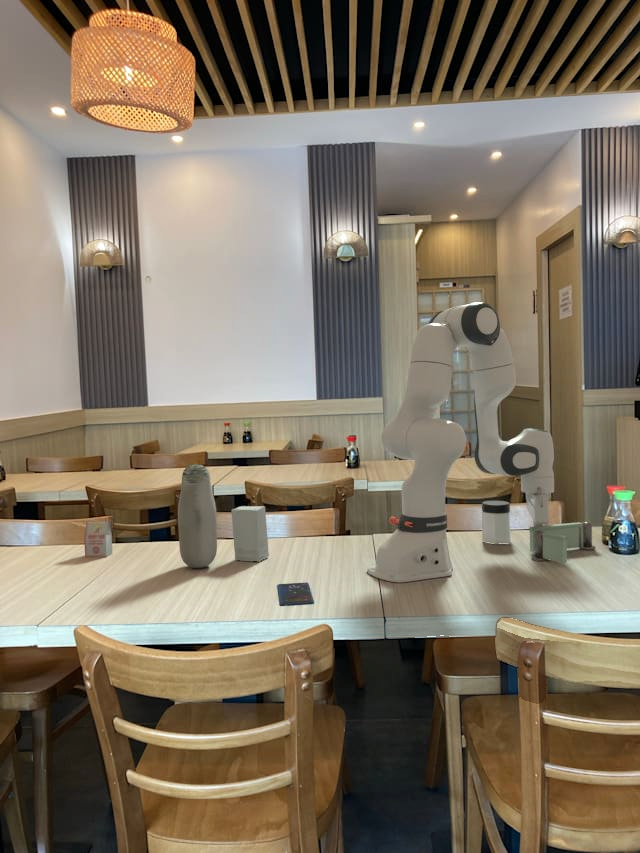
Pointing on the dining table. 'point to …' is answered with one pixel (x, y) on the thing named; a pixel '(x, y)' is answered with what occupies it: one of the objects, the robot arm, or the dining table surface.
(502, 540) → the jar
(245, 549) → the skincare box
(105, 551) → the white printed carton
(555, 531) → the gate
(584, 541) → the hinge post
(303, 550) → the dining table surface
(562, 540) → the fence panel
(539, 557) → the post
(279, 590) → the smartphone
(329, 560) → the dining table surface
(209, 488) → the grey tall rounded cylinder
